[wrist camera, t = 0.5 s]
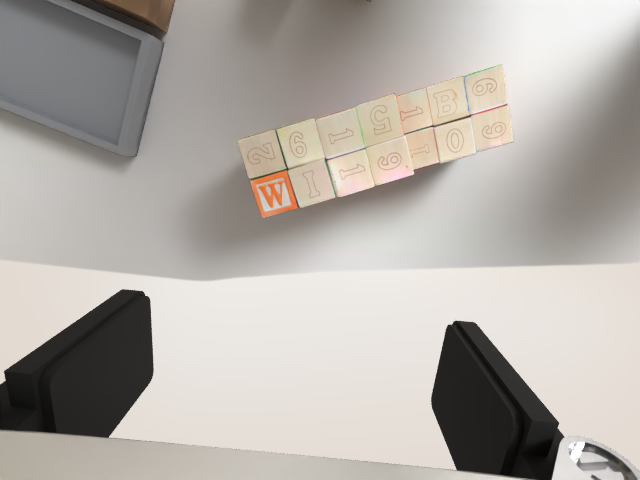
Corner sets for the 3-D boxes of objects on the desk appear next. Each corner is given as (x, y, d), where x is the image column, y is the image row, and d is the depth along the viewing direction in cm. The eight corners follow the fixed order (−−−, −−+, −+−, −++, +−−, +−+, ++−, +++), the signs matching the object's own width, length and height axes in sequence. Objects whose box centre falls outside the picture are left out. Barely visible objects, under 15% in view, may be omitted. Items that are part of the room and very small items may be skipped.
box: (-35, -42, 33) (-64, -57, 30) (164, 43, 34) (152, 35, 32) (-47, 83, 36) (-74, 78, 33) (136, 155, 37) (123, 156, 35)
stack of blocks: (459, 85, 35) (528, 51, 23) (468, 145, 36) (538, 143, 24) (263, 142, 37) (233, 139, 25) (280, 197, 38) (260, 219, 26)
